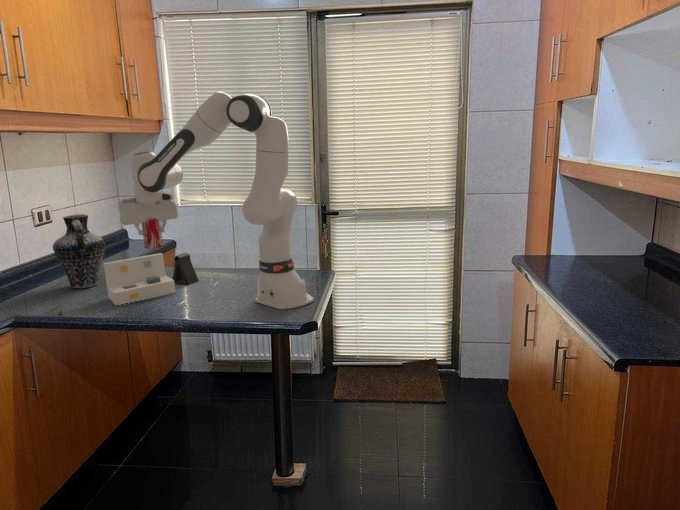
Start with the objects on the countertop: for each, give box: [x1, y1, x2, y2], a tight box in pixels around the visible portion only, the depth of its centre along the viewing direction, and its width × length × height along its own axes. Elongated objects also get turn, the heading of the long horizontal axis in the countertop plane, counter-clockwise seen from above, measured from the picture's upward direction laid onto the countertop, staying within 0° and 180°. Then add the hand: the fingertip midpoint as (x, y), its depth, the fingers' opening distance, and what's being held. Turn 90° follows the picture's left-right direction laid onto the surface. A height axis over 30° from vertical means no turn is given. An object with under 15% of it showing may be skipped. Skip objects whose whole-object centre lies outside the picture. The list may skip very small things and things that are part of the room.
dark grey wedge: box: [172, 252, 199, 286], centre depth 212 cm, size 9×6×12 cm, turn 64°
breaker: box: [147, 276, 160, 284], centre depth 199 cm, size 4×4×4 cm
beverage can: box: [141, 218, 163, 251], centre depth 192 cm, size 6×6×12 cm
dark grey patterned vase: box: [52, 213, 106, 289], centre depth 213 cm, size 21×19×30 cm
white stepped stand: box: [102, 252, 177, 306], centre depth 197 cm, size 12×22×14 cm, turn 126°
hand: (151, 233), depth 192 cm, fingers closed on beverage can, 6 cm apart
